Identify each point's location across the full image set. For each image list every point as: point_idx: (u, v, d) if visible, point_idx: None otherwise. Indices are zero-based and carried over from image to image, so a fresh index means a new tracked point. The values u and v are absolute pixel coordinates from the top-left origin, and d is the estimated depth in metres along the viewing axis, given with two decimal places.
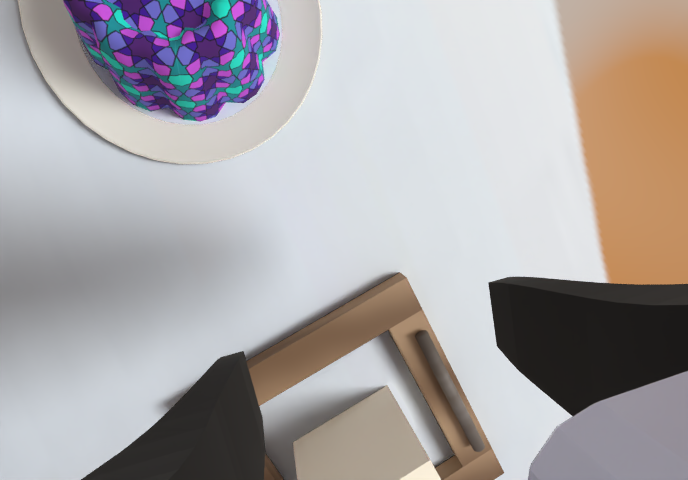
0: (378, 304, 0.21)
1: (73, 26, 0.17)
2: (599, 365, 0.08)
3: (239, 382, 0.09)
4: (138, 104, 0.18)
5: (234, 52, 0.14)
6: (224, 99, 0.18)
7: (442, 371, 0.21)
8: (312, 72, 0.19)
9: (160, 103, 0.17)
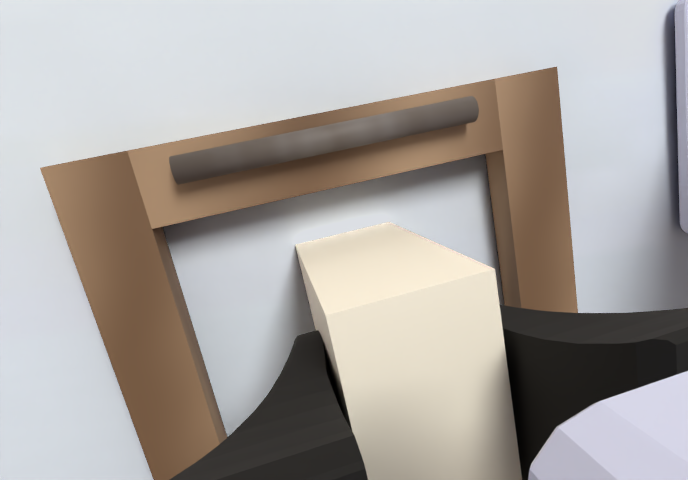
0: (89, 239, 0.10)
1: None
2: None
3: (326, 357, 0.09)
4: None
5: None
6: None
7: (267, 148, 0.10)
8: None
9: None
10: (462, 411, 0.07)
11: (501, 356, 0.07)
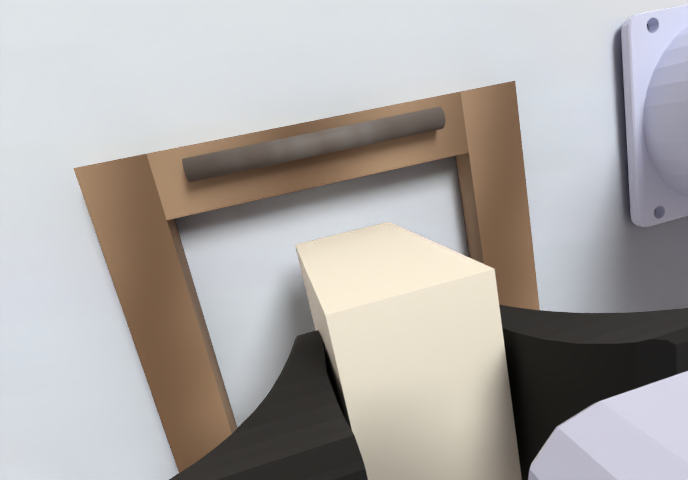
0: (113, 228, 0.12)
1: None
2: None
3: (326, 357, 0.09)
4: None
5: None
6: None
7: (264, 152, 0.12)
8: None
9: None
10: (462, 411, 0.07)
11: (501, 356, 0.07)
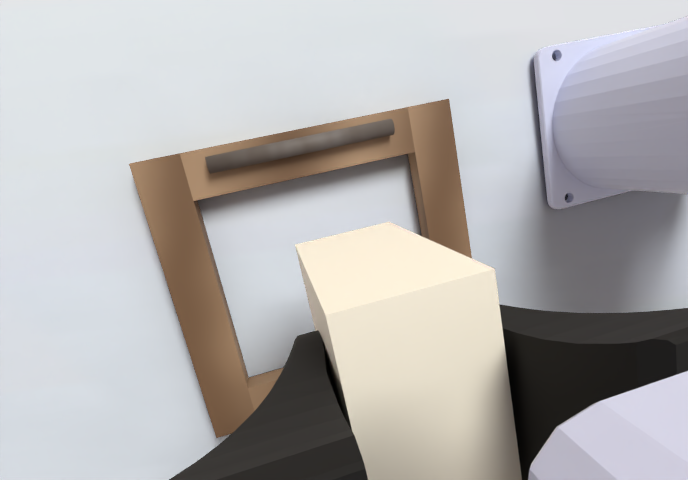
0: (156, 206, 0.17)
1: None
2: None
3: (326, 357, 0.09)
4: None
5: None
6: None
7: (263, 152, 0.17)
8: None
9: None
10: (462, 411, 0.07)
11: (501, 356, 0.07)
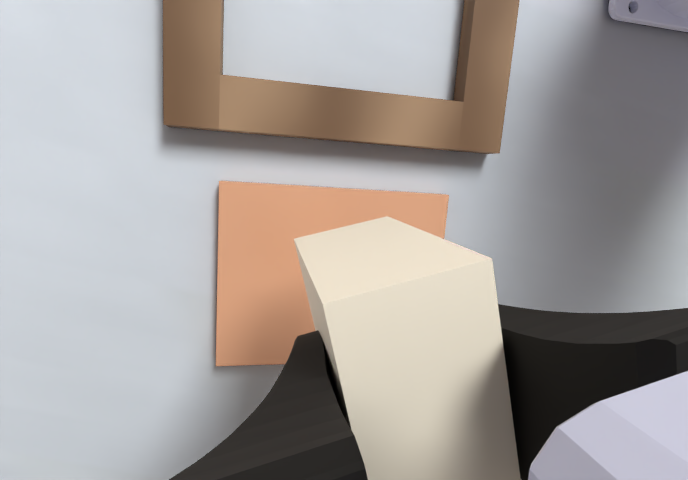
0: None
1: None
2: None
3: (326, 357, 0.09)
4: None
5: None
6: None
7: None
8: None
9: None
10: (459, 402, 0.07)
11: (499, 346, 0.07)
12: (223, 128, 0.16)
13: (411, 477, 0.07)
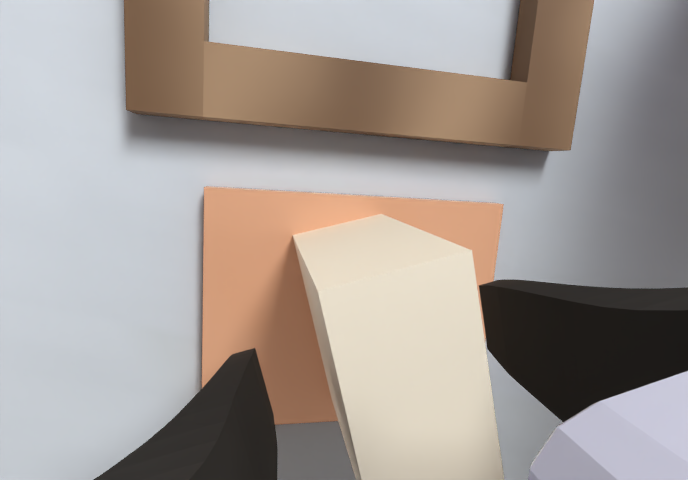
0: None
1: None
2: (586, 369, 0.08)
3: (253, 378, 0.09)
4: None
5: None
6: None
7: None
8: None
9: None
10: (443, 382, 0.08)
11: (480, 330, 0.08)
12: (209, 115, 0.12)
13: (399, 451, 0.08)
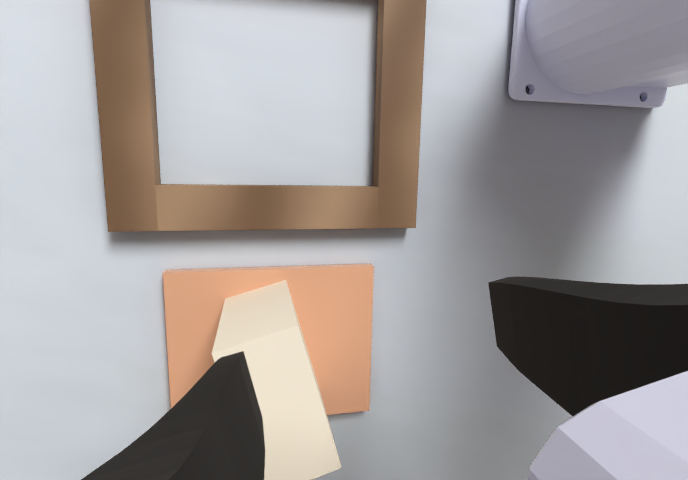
0: None
1: None
2: (599, 365, 0.08)
3: (239, 382, 0.09)
4: None
5: None
6: None
7: None
8: None
9: None
10: (290, 397, 0.15)
11: (308, 367, 0.14)
12: (162, 229, 0.18)
13: (269, 437, 0.15)
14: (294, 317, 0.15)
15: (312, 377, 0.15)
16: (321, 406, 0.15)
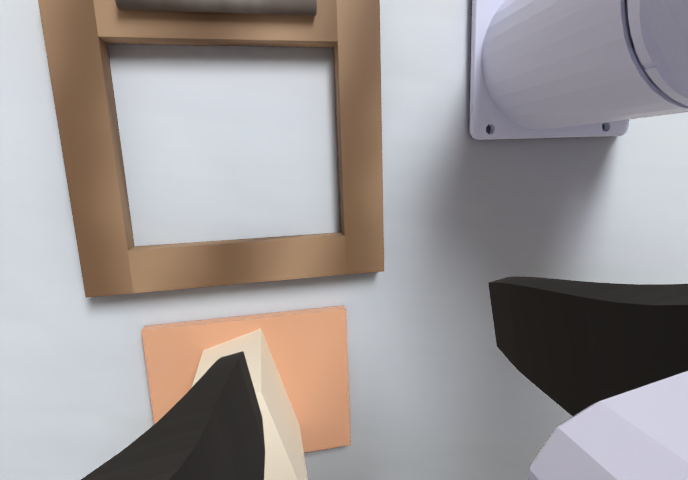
0: (57, 33, 0.16)
1: None
2: (599, 365, 0.08)
3: (239, 382, 0.09)
4: None
5: None
6: None
7: None
8: None
9: None
10: None
11: (274, 429, 0.15)
12: (137, 291, 0.19)
13: None
14: (259, 380, 0.16)
15: (278, 437, 0.15)
16: (289, 463, 0.16)
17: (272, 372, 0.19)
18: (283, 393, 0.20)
